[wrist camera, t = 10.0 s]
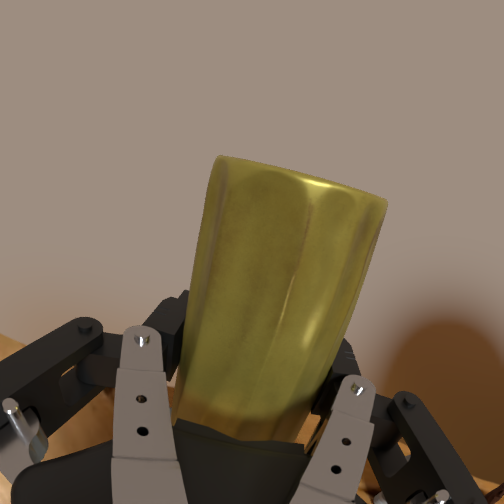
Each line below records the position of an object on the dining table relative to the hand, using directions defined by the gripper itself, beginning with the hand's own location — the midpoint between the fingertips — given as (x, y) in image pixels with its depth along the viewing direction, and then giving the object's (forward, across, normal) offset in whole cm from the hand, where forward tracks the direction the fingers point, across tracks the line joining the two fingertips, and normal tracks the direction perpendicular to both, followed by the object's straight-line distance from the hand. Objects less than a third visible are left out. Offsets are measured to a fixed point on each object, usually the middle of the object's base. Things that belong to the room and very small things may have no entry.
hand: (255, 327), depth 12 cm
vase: (-3, 0, +8) cm, 8 cm away
